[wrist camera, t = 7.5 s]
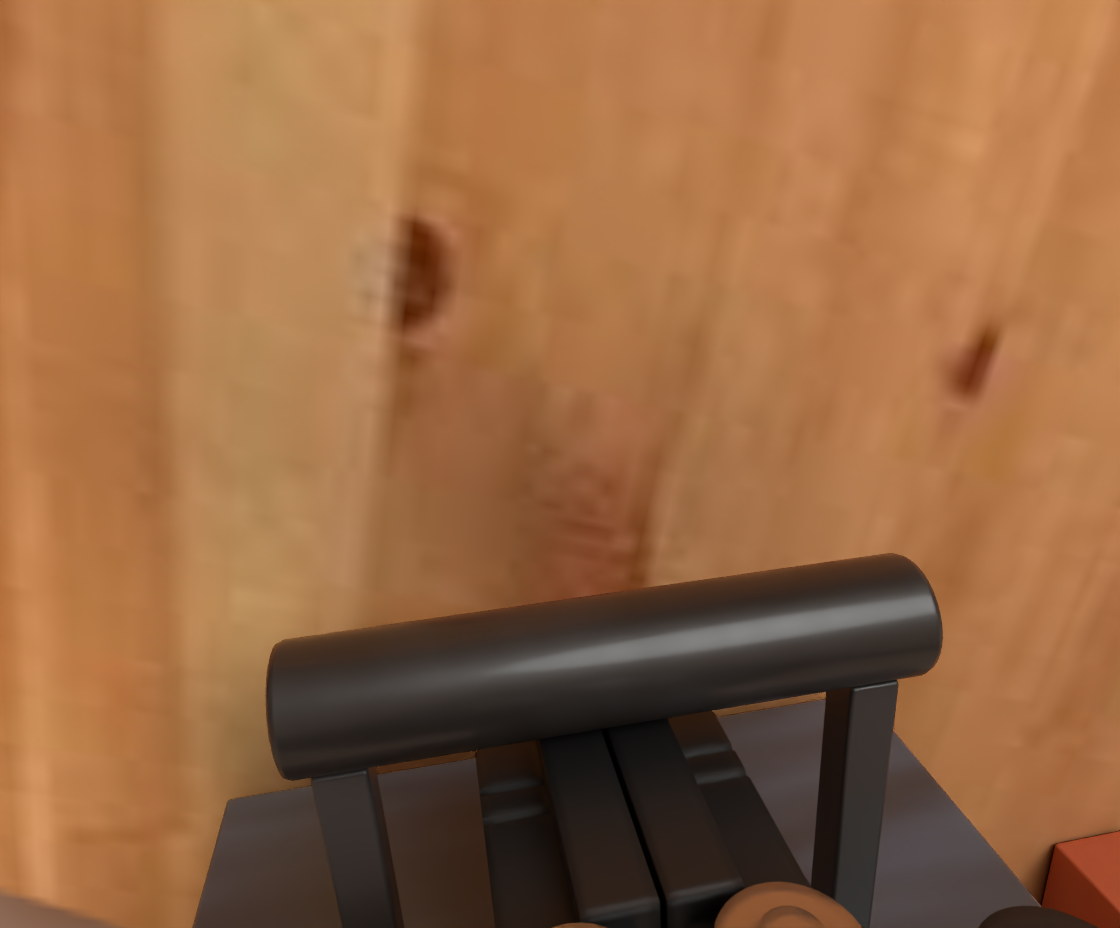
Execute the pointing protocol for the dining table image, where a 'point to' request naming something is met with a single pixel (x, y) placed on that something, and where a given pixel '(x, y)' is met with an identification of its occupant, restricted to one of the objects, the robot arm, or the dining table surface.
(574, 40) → the dining table surface
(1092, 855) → the block
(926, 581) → the drawer
